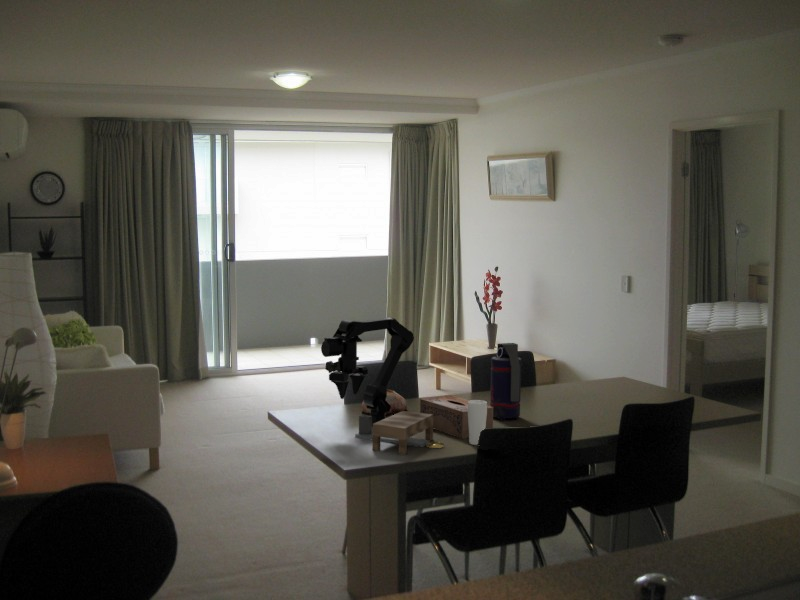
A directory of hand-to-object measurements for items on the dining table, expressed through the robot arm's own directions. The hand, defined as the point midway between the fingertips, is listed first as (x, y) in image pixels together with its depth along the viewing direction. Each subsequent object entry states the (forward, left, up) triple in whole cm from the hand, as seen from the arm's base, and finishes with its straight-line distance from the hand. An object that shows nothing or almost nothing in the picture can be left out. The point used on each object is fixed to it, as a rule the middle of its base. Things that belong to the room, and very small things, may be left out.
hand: (348, 396), depth 305 cm
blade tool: (+3, +20, -13) cm, 24 cm away
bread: (-36, -4, -13) cm, 39 cm away
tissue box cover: (-24, +33, -14) cm, 43 cm away
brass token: (+3, +36, -13) cm, 39 cm away
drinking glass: (-7, +48, -13) cm, 50 cm away
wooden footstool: (+7, +26, -13) cm, 30 cm away
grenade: (-49, +44, -13) cm, 67 cm away
